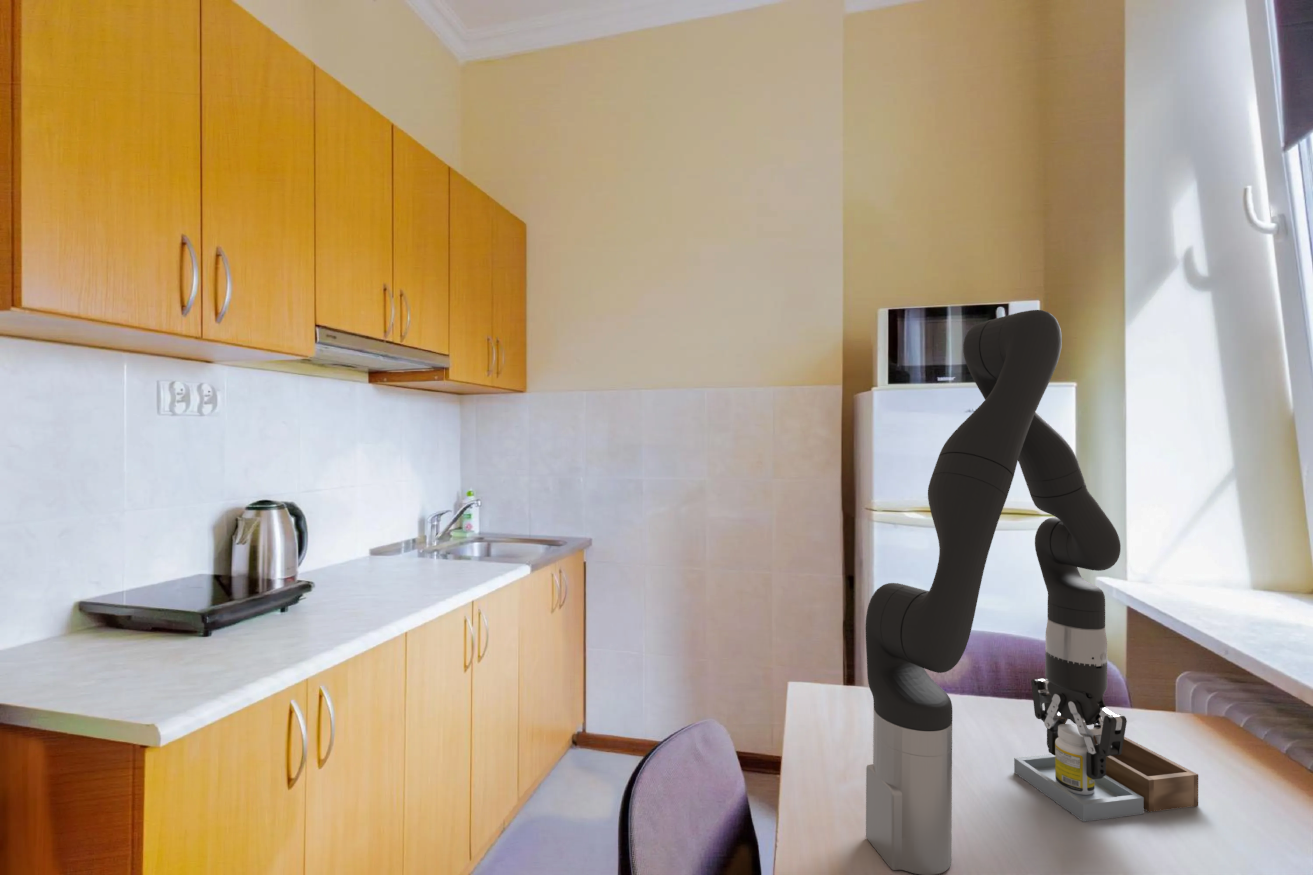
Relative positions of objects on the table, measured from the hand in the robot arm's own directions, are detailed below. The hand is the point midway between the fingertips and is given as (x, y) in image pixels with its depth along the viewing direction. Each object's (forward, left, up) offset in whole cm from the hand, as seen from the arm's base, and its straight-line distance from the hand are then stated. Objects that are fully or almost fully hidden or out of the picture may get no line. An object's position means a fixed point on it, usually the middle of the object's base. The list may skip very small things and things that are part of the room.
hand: (1075, 764), depth 86 cm
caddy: (+11, +1, -4) cm, 11 cm away
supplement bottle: (0, 0, -3) cm, 3 cm away
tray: (0, 0, -4) cm, 4 cm away
